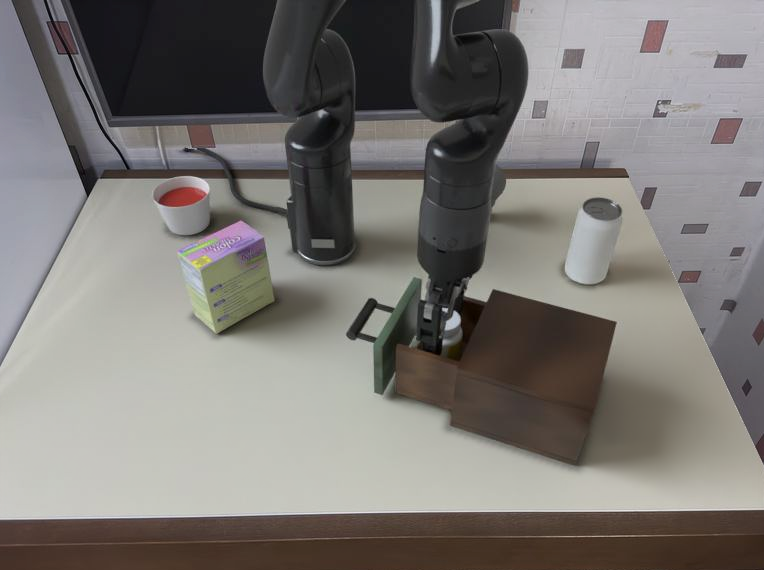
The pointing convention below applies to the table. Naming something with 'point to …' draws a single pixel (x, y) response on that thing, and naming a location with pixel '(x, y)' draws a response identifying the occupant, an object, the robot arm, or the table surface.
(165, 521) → the table surface
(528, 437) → the cabinet
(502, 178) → the light bulb
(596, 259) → the can
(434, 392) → the drawer
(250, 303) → the box
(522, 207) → the table surface
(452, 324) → the supplement bottle
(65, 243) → the table surface
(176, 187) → the candle
